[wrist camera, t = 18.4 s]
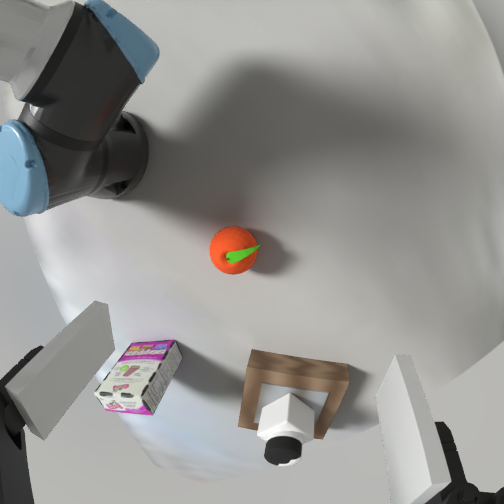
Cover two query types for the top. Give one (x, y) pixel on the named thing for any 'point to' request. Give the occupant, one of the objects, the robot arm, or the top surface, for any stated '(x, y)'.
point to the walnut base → (292, 387)
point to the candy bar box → (140, 377)
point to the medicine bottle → (286, 429)
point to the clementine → (233, 250)
